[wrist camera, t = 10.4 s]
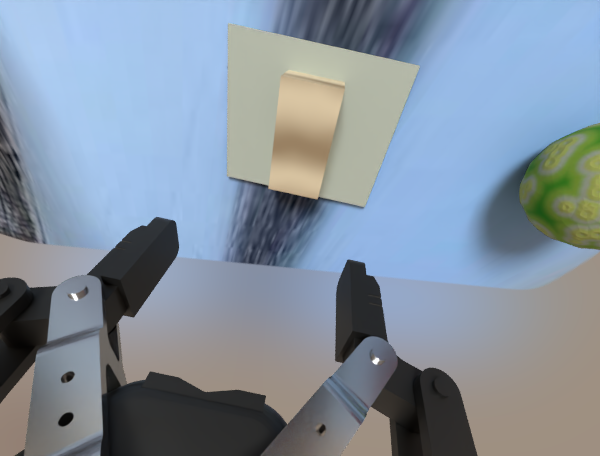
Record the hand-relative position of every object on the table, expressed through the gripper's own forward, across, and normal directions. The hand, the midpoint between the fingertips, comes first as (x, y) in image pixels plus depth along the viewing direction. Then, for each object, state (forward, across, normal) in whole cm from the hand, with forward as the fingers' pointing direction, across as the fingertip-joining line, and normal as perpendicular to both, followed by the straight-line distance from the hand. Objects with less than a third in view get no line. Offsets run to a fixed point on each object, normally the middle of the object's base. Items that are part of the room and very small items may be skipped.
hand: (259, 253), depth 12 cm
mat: (+18, 0, 0) cm, 18 cm away
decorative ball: (+18, -24, -2) cm, 31 cm away
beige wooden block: (+18, 0, 0) cm, 18 cm away
